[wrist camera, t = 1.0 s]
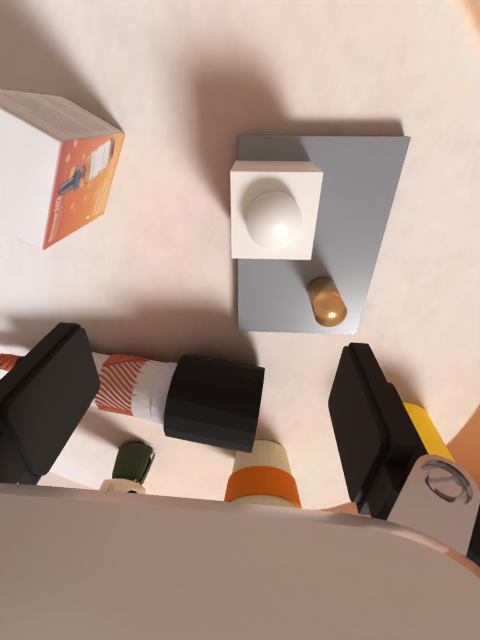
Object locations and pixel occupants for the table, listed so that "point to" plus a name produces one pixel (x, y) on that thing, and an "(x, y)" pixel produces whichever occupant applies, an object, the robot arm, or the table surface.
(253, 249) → the white push button box
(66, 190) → the small box
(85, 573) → the robot arm
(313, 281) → the brass cylinder
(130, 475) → the character mug
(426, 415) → the yellow toilet paper roll
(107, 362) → the black and white bottle
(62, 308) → the table surface
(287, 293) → the plate
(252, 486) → the reusable coffee cup
